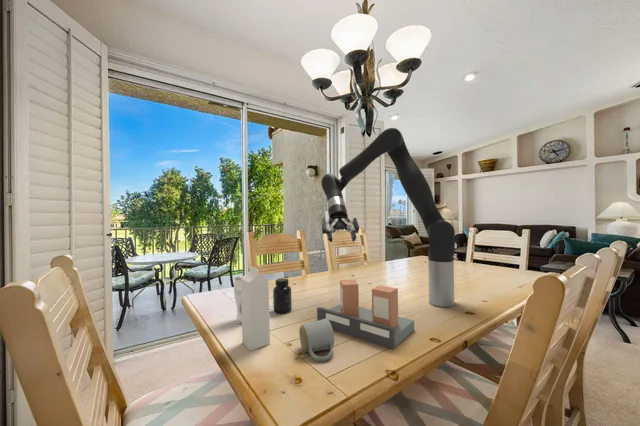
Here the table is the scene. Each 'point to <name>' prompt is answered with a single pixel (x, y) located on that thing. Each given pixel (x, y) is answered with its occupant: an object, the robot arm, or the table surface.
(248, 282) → the milk
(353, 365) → the table surface
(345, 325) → the display shelf
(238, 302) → the beer glass
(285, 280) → the supplement bottle
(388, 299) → the tea box
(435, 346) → the table surface
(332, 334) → the ceramic mug
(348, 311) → the tea box
